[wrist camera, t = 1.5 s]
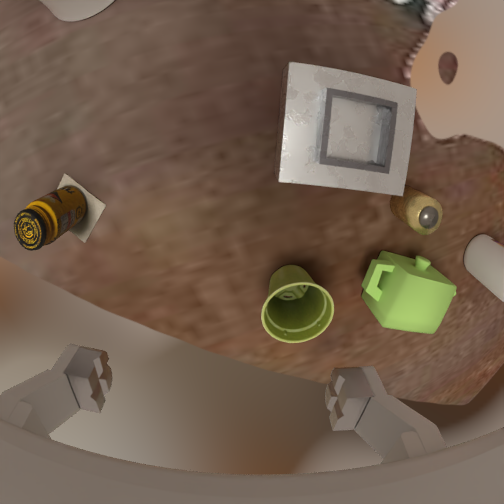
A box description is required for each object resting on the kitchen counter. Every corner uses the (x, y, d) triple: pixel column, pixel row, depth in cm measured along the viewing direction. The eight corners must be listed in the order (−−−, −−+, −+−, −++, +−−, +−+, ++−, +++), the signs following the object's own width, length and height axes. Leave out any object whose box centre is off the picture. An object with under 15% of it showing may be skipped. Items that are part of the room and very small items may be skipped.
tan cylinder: (393, 183, 42) (418, 196, 35) (420, 188, 42) (447, 202, 35) (387, 216, 44) (410, 234, 37) (414, 219, 44) (439, 237, 37)
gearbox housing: (282, 69, 35) (292, 57, 27) (395, 91, 36) (426, 88, 28) (273, 173, 41) (281, 186, 33) (384, 185, 42) (411, 201, 34)
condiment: (65, 173, 39) (17, 193, 28) (106, 205, 42) (66, 234, 31) (47, 211, 42) (2, 239, 31) (86, 242, 44) (47, 278, 33)
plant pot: (259, 252, 45) (263, 282, 37) (323, 254, 46) (339, 283, 38) (257, 307, 49) (259, 343, 41) (315, 307, 49) (327, 341, 42)
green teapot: (448, 259, 48) (480, 283, 39) (426, 308, 51) (452, 337, 42) (367, 234, 45) (396, 258, 36) (344, 292, 48) (366, 325, 39)
